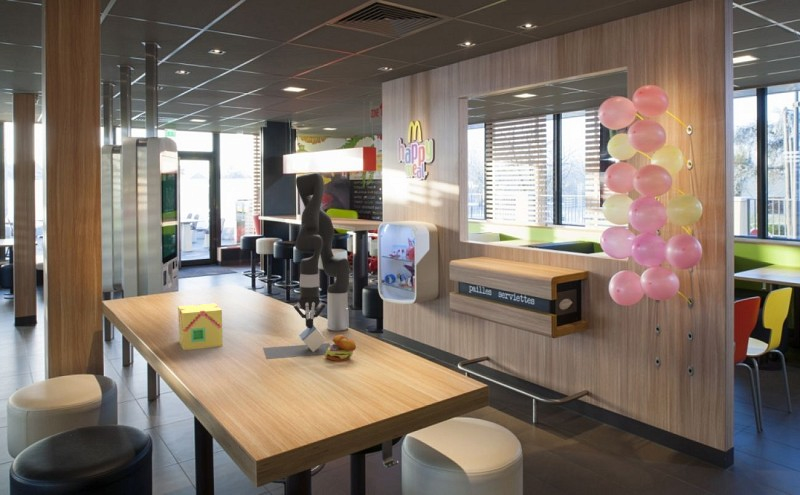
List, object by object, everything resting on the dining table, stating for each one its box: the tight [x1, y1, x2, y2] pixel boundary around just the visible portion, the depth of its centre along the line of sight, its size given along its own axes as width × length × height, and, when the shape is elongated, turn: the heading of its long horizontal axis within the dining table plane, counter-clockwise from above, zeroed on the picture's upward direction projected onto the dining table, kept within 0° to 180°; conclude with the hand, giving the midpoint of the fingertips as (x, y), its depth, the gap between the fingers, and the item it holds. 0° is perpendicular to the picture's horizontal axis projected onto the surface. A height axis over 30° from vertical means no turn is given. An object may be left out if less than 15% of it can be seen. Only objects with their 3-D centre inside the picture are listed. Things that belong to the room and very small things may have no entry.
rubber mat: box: [262, 342, 332, 360], centre depth 232 cm, size 27×16×1 cm, turn 108°
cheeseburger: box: [324, 334, 356, 362], centre depth 222 cm, size 10×11×10 cm
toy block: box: [177, 302, 223, 351], centre depth 241 cm, size 15×15×15 cm
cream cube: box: [299, 324, 327, 352], centre depth 233 cm, size 7×7×7 cm
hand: (309, 327), depth 232 cm, fingers closed
